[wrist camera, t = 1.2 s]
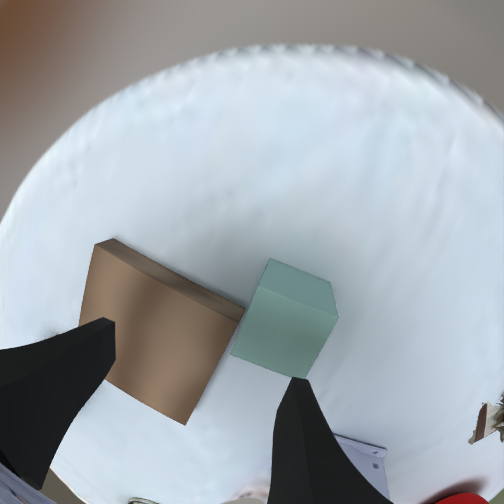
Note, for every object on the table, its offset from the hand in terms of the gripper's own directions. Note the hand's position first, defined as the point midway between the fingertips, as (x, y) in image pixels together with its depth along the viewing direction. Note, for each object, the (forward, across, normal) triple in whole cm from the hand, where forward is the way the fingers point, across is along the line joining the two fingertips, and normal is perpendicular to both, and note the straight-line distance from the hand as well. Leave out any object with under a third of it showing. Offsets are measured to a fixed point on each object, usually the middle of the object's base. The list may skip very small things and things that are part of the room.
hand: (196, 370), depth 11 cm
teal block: (+11, -4, +1) cm, 12 cm away
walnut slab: (+11, +6, +8) cm, 15 cm away
